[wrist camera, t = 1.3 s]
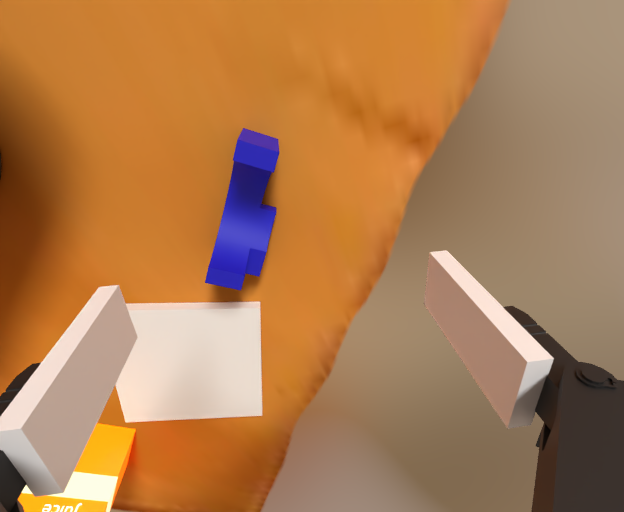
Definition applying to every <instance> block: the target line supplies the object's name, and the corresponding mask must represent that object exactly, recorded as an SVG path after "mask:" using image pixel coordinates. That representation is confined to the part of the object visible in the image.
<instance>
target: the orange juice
mask: <svg viewBox="0 0 624 512" xmlns="http://www.w3.org/2000/svg"><path fill="white" fill-rule="evenodd" d="M135 431H136V429H131V428H124V427H118V426H111V425H104V424H98V423H97V424H96V426H95V428H94V430H93V432H92V434H91V437H90V439H89V441H88V443H87V445H86V447H85V449H84V451H83V453H82V455H81V457H80V460H79V462H78V464H77V466H76V468H75V470H74V472H73V474H72V476H71V478H70V481H69V483H68V485H67V487H66V489H65V491H64V493H60V494H53V495H46V496H39V497H35V496H34V495H33V494H32V492H31V491H30V490H29V488H28V487H27V485H26V486H25V487H24V489H23V491H22V493H21V494H20V496H19V498H18V500H19V502H20V503H21V504H22V506H23V508H24V512H110V510H111V507H112V504H113V502H114V499H115V496H116V494H117V491H118V488H119V485H120V483H121V480H122V477H123V475H124V472H125V469H126V466H127V463H128V459H129V455H130V451H131V447H132V443H133V439H134V435H135Z"/></svg>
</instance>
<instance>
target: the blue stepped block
mask: <svg viewBox="0 0 624 512" xmlns="http://www.w3.org/2000/svg"><path fill="white" fill-rule="evenodd" d="M278 155H279V145H278V139H276V138H273V137H270V136H267V135H263V134H260V133H257V132H254V131H251V130H248V129H245V128H243V130H242V132H241V134H240V136H239V138H238V140H237V145H236V149H235V153H234V158H233V161H234V165H233V171H232V176H231V181H230V185H229V190H228V194H227V199H226V203H225V207H224V212H223V216H222V220H221V224H220V228H219V232H218V236H217V239H216V243H215V247H214V251H213V254H212V258H211V261H210V264H209V268H208V272H207V276H206V281H205V283H209V284H213V285H218V286H223V287H227V288H232V289H237V290H241V288H242V284H243V281H244V277H245V273H246V274H250V275H255V276H259V275H260V272H261V269H262V265H263V262H264V259H265V255H266V252H267V247H268V242H269V238H270V234H271V230H272V226H273V222H274V219H275V215H276V208H275V207H272V206H268V205H264V204H261V203H262V199H263V196H264V193H265V189H266V186H267V183H268V180H269V177H270V175H271V173H272V172H274V170H275V166H276V162H277V159H278Z"/></svg>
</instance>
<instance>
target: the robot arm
mask: <svg viewBox="0 0 624 512" xmlns="http://www.w3.org/2000/svg"><path fill="white" fill-rule="evenodd" d="M1 167H2V166H1V155H0V178H1ZM424 305H425V306H426V308H427V309H428V311H429V312H430V314H431V315H432V317H433V318H434V320H435V321H436V323H437V324H438V326H439V327H440V329H441V330H442V332H443V333H444V334H445V336H446V338H447V339H448V341H449V342H450V344H451V345H452V347H453V348H454V350H455V351H456V353H457V354H458V355H459V357H460V359H461V360H462V362H463V363H464V365H465V366H466V367H467V369H468V371H469V372H470V373H471V375H472V377H473V378H474V379H475V381H476V382H477V384H478V385H479V387H480V388H481V390H482V391H483V393H484V394H485V396H486V397H487V399H488V400H489V402H490V403H491V405H492V406H493V408H494V409H495V411H496V412H497V414H498V415H499V417H500V418H501V420H502V421H503V423H504V424H505V426H506V427H507V428H514V427H521V426H528V425H531V423H532V421H533V418H534V415H535V412H537V414H538V415H539V416H540V417H541V419H542V420H543V421H544V425H543V427H542V430H541V433H540V435H539V438H538V441H537V444H536V446H537V447H539V456H538V463H537V471H536V480H535V488H534V496H533V505H532V512H624V381H621V380H617V379H616V378H614V376H613V375H612V374H610V373H609V372H607V371H606V370H604V369H602V368H600V367H597V366H595V365H593V364H589V363H583V362H578V361H577V360H575V359H574V358H573V357H572V356H571V355H570V354H569V353H568V352H567V351H566V350H565V349H564V348H563V347H562V346H561V345H560V344H559V343H557V342H556V341H555V340H554V339H553V338H552V337H551V336H550V335H549V334H546V331H545V330H544V329H543V328H541V327H540V326H539V325H537V323H536V322H535V321H534V320H533V319H532V318H531V317H530V316H529V315H528V314H526V313H524V312H523V311H521V310H519V309H517V308H515V307H513V306H508V307H502V306H501V305H500V304H499V303H498V302H497V301H496V300H495V299H494V298H493V297H492V296H491V295H490V294H489V293H488V292H487V291H486V290H485V289H484V288H483V287H482V286H481V285H480V284H479V283H478V282H477V281H476V280H475V279H474V278H473V277H472V276H471V275H470V274H469V273H468V272H467V271H466V270H465V269H464V268H463V267H462V266H461V265H460V264H459V262H457V260H456V259H455V258H454V257H453V256H452V255H451V254H450V253H448V251H437V252H430V253H429V263H428V272H427V282H426V290H425V299H424ZM137 338H138V337H137V334H136V331H135V328H134V326H133V323H132V320H131V317H130V315H129V312H128V309H127V306H126V304H125V301H124V298H123V296H122V293H121V290H120V287H119V285H114V286H104V287H99V288H98V289H97V291H96V292H95V293H94V295H93V296H92V297H91V298H90V300H89V301H88V302H87V304H86V305H85V306H84V308H83V309H82V310H81V312H80V313H79V314H78V316H77V317H76V318H75V319H74V321H73V322H72V323H71V325H70V326H69V327H68V329H67V330H66V331H65V333H64V334H63V335H62V336H61V338H60V339H59V340H58V342H57V343H56V344H55V346H54V347H53V348H52V350H51V351H50V352H49V353H48V355H47V356H46V357H45V359H44V360H43V361H42V363H36V364H32V365H31V366H29V367H28V368H27V369H25V370H24V371H23V372H22V373H20V374H19V375H18V376H16V378H15V379H14V380H13V381H12V383H11V384H10V385H9V386H8V388H7V389H6V392H4V393H3V394H2V395H1V396H0V512H24V508H23V506H22V504H21V503H20V502H19V500H18V498H19V496H20V494H21V493H22V491H23V489H24V487H25V486H26V485H27V487H28V488H29V490H30V491H31V492H32V494H33V495H34V496H35V497H39V496H46V495H53V494H60V493H64V491H65V489H66V487H67V485H68V483H69V481H70V478H71V476H72V474H73V472H74V470H75V468H76V466H77V464H78V462H79V460H80V457H81V455H82V453H83V451H84V449H85V447H86V445H87V443H88V441H89V439H90V437H91V434H92V432H93V430H94V428H95V426H96V424H97V422H98V420H99V418H100V416H101V413H102V411H103V409H104V407H105V405H106V403H107V401H108V399H109V397H110V395H111V393H112V390H113V388H114V386H115V384H116V382H117V380H118V378H119V376H120V374H121V372H122V369H123V367H124V365H125V363H126V361H127V359H128V357H129V355H130V353H131V351H132V348H133V346H134V344H135V342H136V340H137Z"/></svg>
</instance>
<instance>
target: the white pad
mask: <svg viewBox="0 0 624 512" xmlns="http://www.w3.org/2000/svg"><path fill="white" fill-rule="evenodd" d="M126 306H127V309H128V312H129V315H130V317H131V320H132V323H133V326H134V328H135V331H136V334H137V337H138V338H137V340H136V342H135V344H134V346H133V348H132V351H131V353H130V355H129V357H128V359H127V361H126V363H125V365H124V367H123V369H122V372H121V374H120V376H119V378H118V380H117V382H116V384H115V385H116V389H117V392H118V396H119V400H120V403H121V407H122V411H123V414H124V418H125V422H143V421H164V420H184V419H204V418H224V417H244V416H262V360H261V309H260V302H201V303H135V304H126Z"/></svg>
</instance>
